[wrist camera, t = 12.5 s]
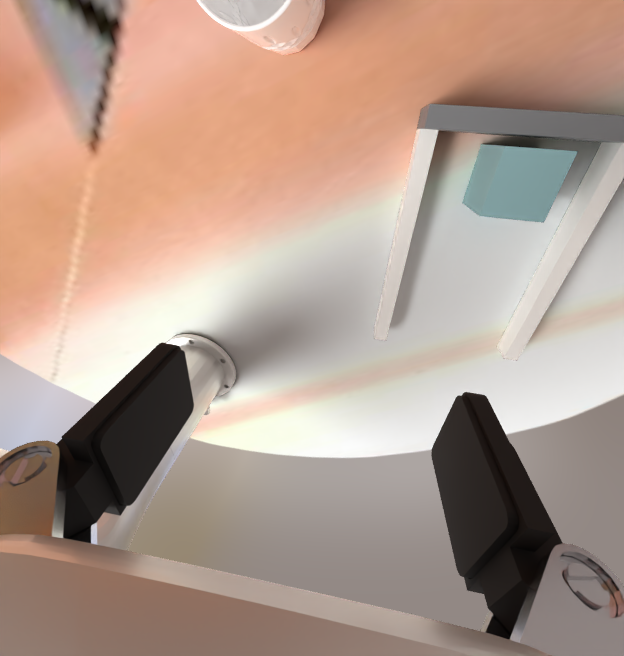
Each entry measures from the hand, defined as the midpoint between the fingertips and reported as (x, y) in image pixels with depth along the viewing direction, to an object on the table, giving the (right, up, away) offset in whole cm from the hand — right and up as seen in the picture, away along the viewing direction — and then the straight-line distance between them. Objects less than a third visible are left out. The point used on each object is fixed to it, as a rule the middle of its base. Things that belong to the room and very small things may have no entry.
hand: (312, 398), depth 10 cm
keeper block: (+18, +17, +18) cm, 30 cm away
